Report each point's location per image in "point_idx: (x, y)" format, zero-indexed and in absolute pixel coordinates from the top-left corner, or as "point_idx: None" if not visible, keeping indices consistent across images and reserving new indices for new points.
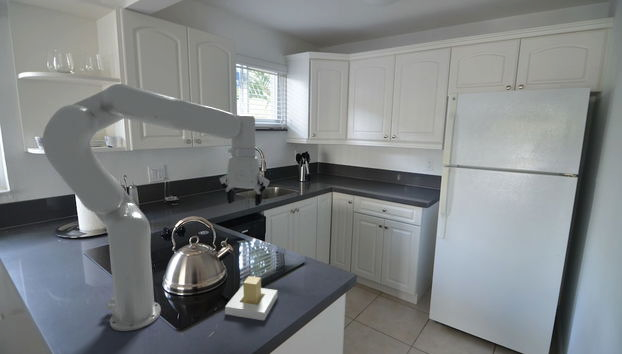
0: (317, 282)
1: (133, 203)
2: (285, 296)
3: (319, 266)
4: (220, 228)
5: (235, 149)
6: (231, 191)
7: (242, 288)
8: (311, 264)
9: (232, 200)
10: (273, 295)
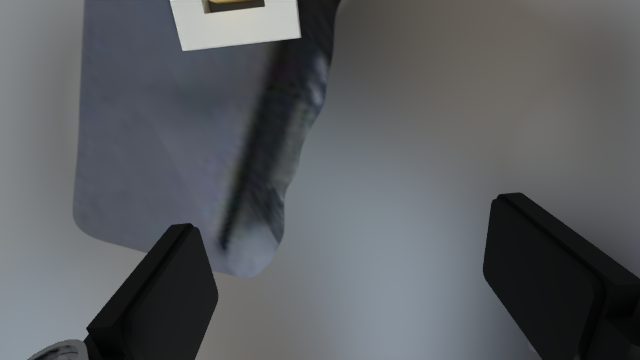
0: (136, 167)
1: None
2: (176, 67)
3: None
4: None
5: None
6: (590, 342)
7: (289, 18)
8: None
9: (496, 253)
10: (176, 15)
